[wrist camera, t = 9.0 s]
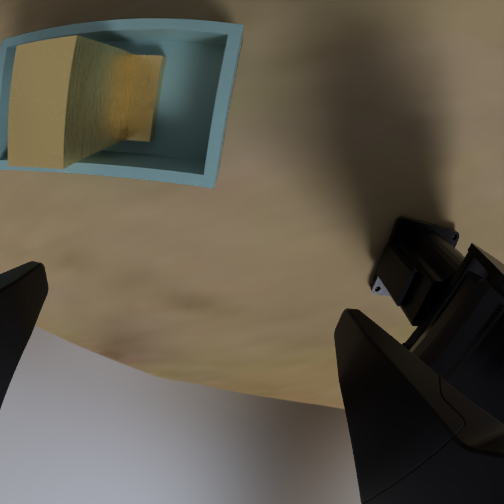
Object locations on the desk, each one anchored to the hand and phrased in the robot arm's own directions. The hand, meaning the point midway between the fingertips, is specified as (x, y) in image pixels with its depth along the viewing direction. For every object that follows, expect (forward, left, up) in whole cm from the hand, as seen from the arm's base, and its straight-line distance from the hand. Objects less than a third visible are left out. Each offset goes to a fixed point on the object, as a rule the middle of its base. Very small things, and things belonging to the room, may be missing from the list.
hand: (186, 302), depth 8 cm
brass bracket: (+7, -5, -11) cm, 14 cm away
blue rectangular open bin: (+7, -5, -12) cm, 15 cm away
